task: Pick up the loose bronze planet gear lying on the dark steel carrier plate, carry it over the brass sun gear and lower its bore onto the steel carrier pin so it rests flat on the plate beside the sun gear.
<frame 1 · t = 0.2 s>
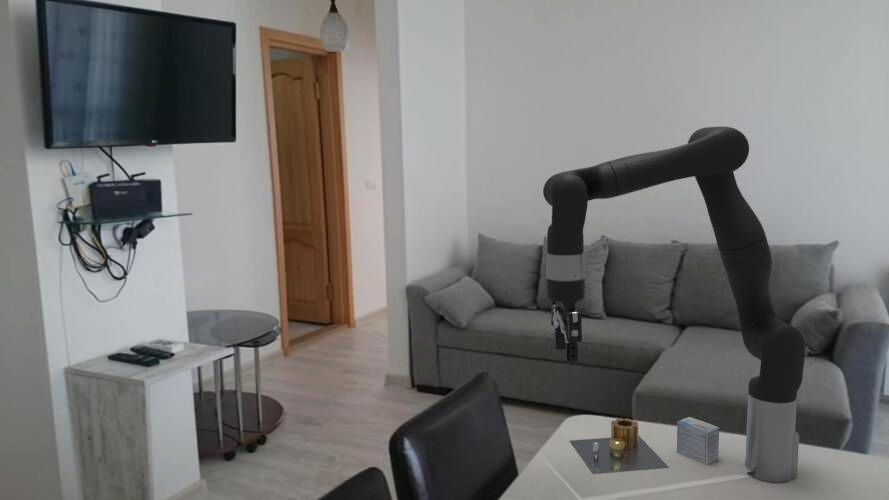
hand: (565, 355, 140), 29 cm above the table, tool pointing down, fingers open, 8 cm apart
planet gear: (624, 443, 162), point 1 cm above the table, touching carrier
carrier: (616, 458, 158), on the table
medicine box: (697, 461, 156), on the table
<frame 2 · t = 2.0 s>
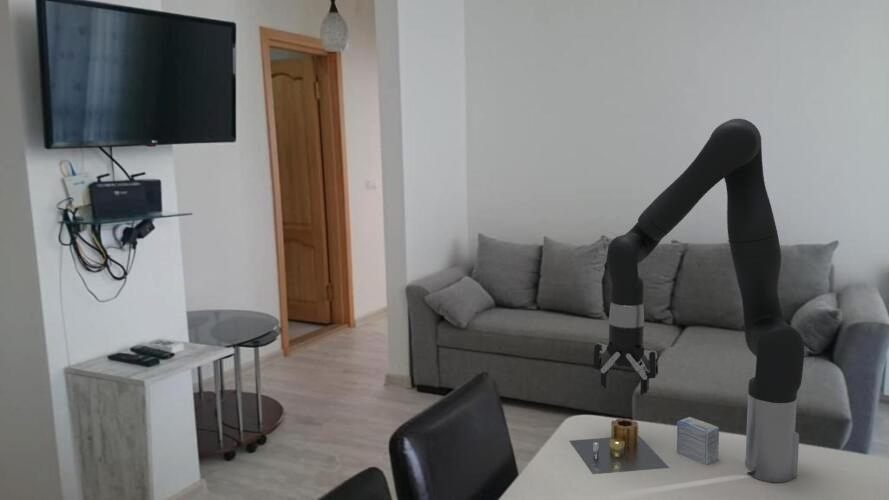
hand: (624, 390, 160), 14 cm above the table, tool pointing down, fingers open, 8 cm apart
nothing on the table moved.
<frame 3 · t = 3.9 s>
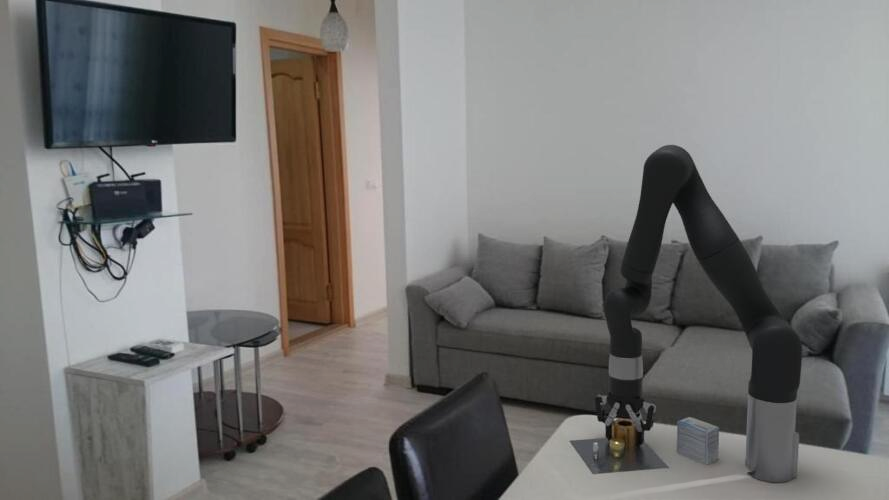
hand: (624, 442, 162), 2 cm above the table, tool pointing down, fingers closed on planet gear, 6 cm apart
planet gear: (624, 443, 162), point 1 cm above the table, touching carrier, gripper
everything else where it was.
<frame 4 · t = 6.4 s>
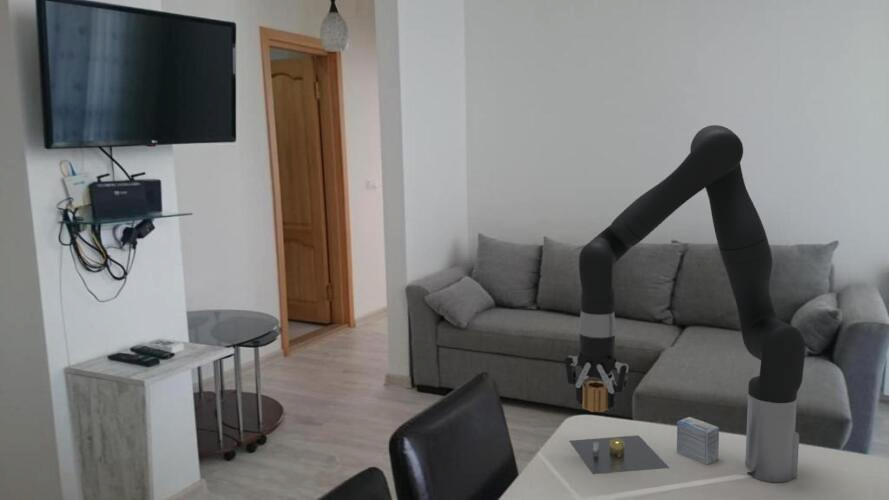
hand: (596, 405, 154), 13 cm above the table, tool pointing down, fingers closed on planet gear, 6 cm apart
planet gear: (595, 407, 154), point 13 cm above the table, touching gripper
everything else where it was.
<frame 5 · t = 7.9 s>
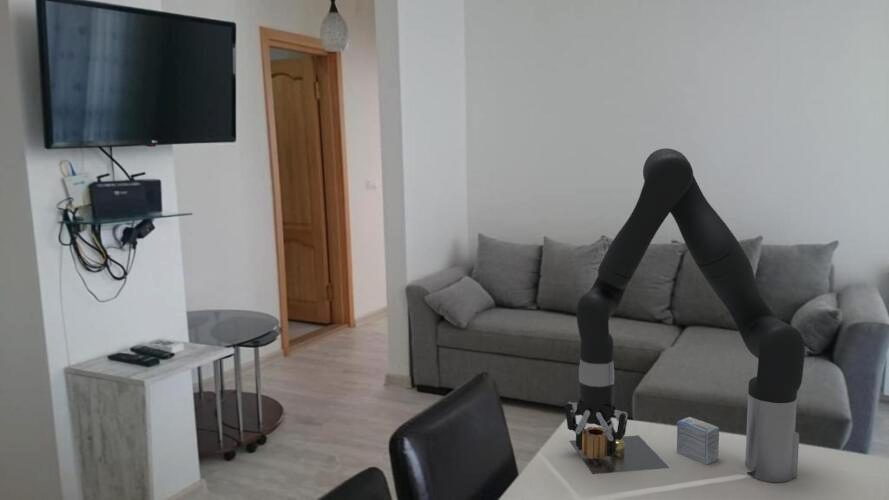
hand: (595, 451, 155), 3 cm above the table, tool pointing down, fingers closed on planet gear, 6 cm apart
planet gear: (595, 453, 155), point 2 cm above the table, touching gripper
everything else where it was.
when the fingers open (2 cm above the table, at t = 8.8 s): planet gear stays where it is, resting on carrier.
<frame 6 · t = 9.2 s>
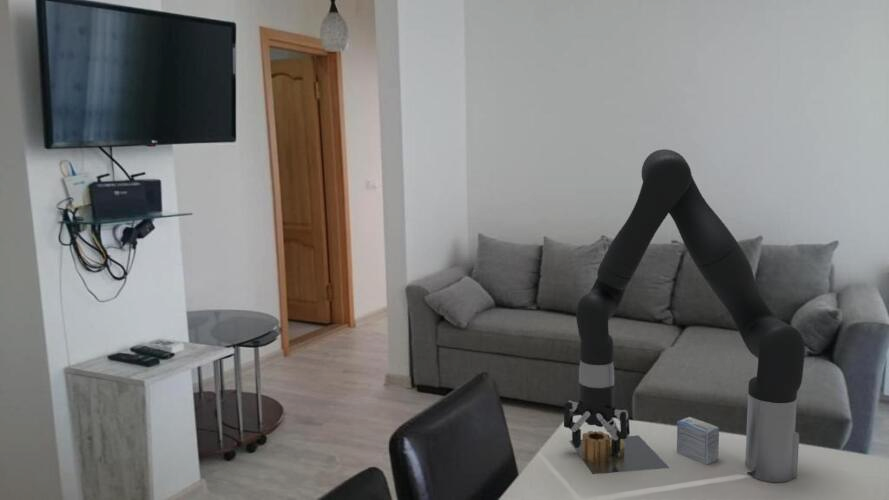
hand: (596, 450, 155), 3 cm above the table, tool pointing down, fingers open, 8 cm apart
planet gear: (596, 457, 156), point 1 cm above the table, touching carrier
everything else where it was.
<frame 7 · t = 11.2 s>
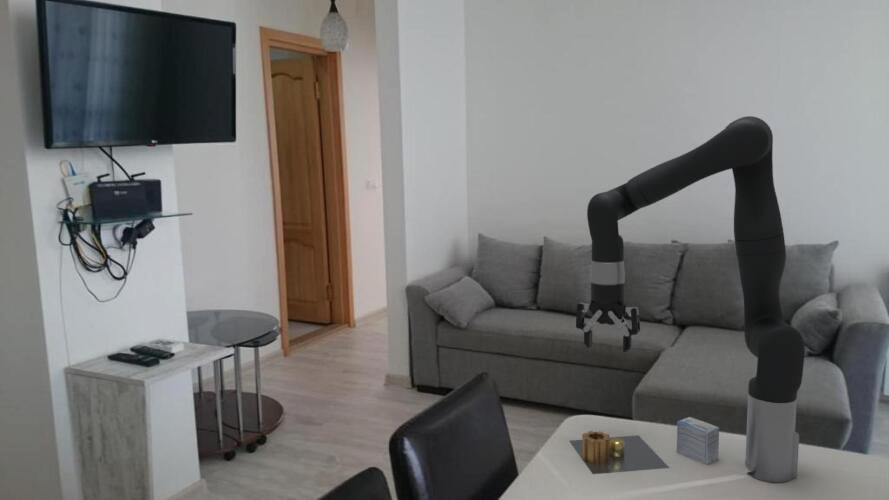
hand: (607, 349, 161), 23 cm above the table, tool pointing down, fingers open, 8 cm apart
nothing on the table moved.
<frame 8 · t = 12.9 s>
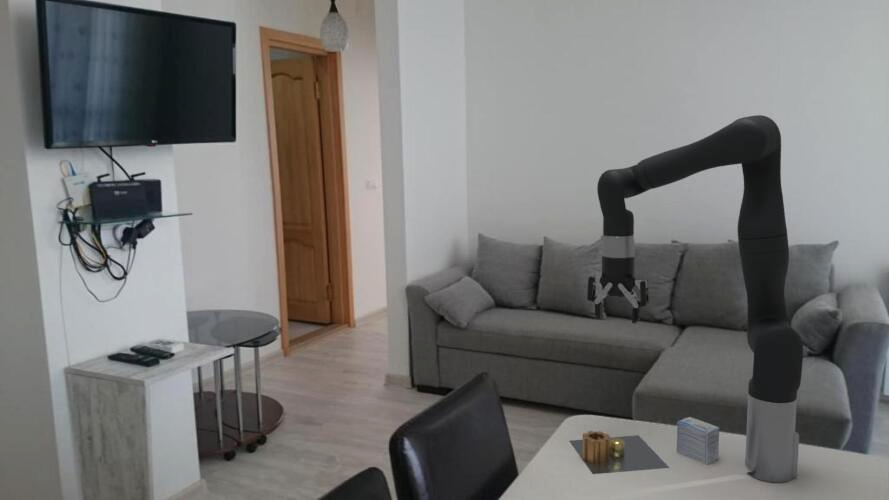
hand: (617, 320, 168), 28 cm above the table, tool pointing down, fingers open, 8 cm apart
nothing on the table moved.
at the end: planet gear 0.0 cm from the target spot on the carrier, point 1.2 cm above the carrier's base; planet gear tilted 0°; the gripper is holding nothing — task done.
